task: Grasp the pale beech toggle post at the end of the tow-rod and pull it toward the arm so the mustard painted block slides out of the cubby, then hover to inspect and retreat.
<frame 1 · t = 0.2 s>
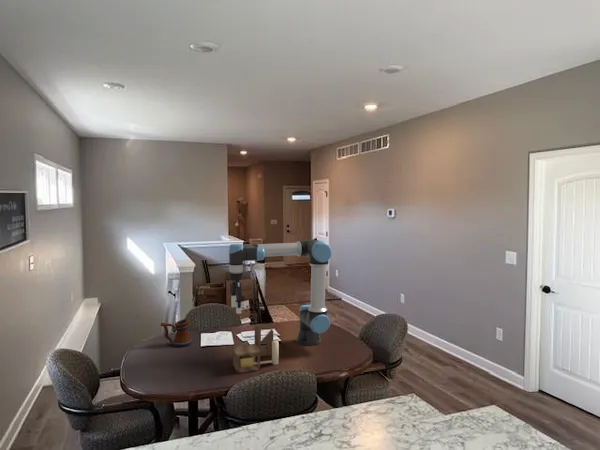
hand: (236, 310, 234), 28 cm above the table, fingers open, 13 cm apart
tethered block: (245, 367, 224), on the table
wooden block: (263, 355, 242), on the table
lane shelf: (246, 367, 225), on the table
mug: (176, 345, 258), on the table
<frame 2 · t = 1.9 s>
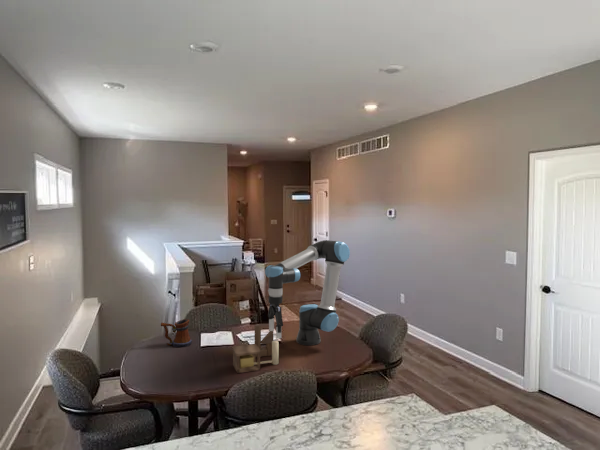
hand: (274, 334, 229), 16 cm above the table, fingers open, 13 cm apart
nothing on the table moved.
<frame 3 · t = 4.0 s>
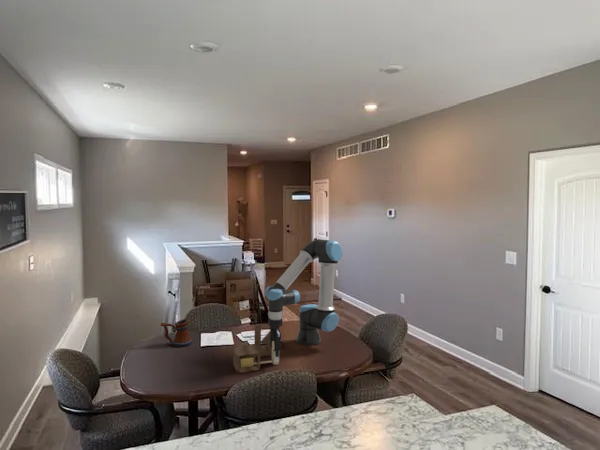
hand: (275, 360, 230), 2 cm above the table, fingers closed on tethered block, 4 cm apart
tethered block: (245, 367, 225), on the table, touching gripper
everything else where it was.
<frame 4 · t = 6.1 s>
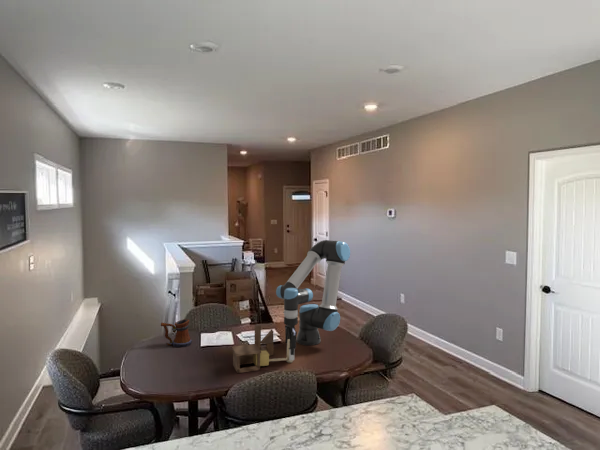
hand: (290, 358, 233), 2 cm above the table, fingers closed on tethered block, 4 cm apart
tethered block: (260, 363, 228), point 1 cm above the table, touching gripper
everything else where it was.
when the fingers open (2 cm above the table, at t = 8.4 s): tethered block stays where it is, on the table.
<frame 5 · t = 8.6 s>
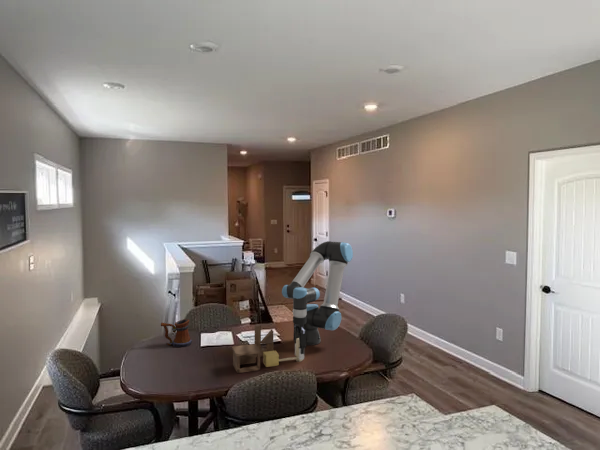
hand: (299, 356, 235), 2 cm above the table, fingers open, 6 cm apart
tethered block: (270, 364, 229), on the table
everything else where it was.
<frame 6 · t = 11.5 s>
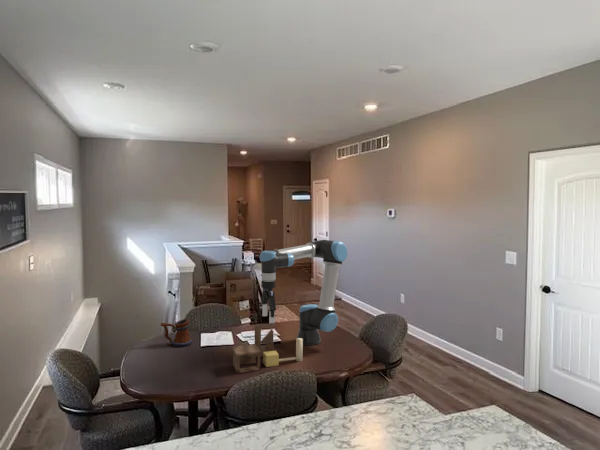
hand: (268, 319, 227), 25 cm above the table, fingers open, 13 cm apart
nothing on the table moved.
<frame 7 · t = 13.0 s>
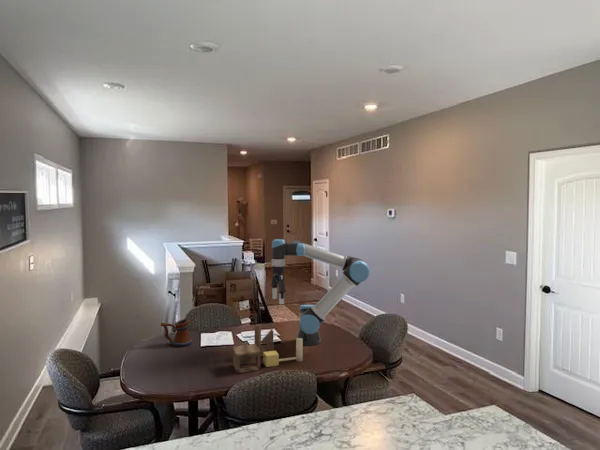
hand: (278, 301, 251), 29 cm above the table, fingers open, 13 cm apart
nothing on the table moved.
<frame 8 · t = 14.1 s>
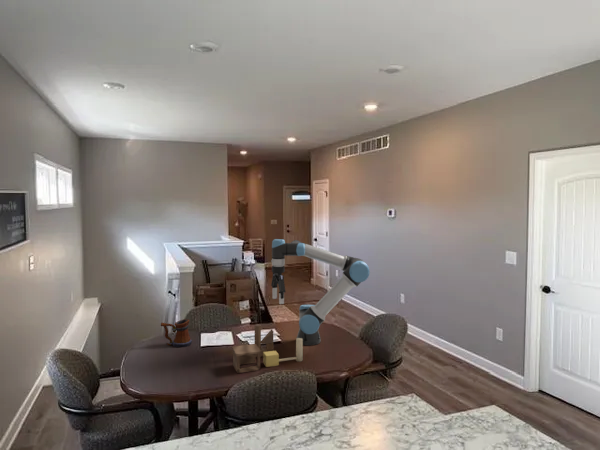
hand: (278, 301, 251), 29 cm above the table, fingers open, 13 cm apart
nothing on the table moved.
at the end: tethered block inside the target area (9.4 cm from its centre), on the table; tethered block tilted 0°; the gripper is holding nothing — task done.
